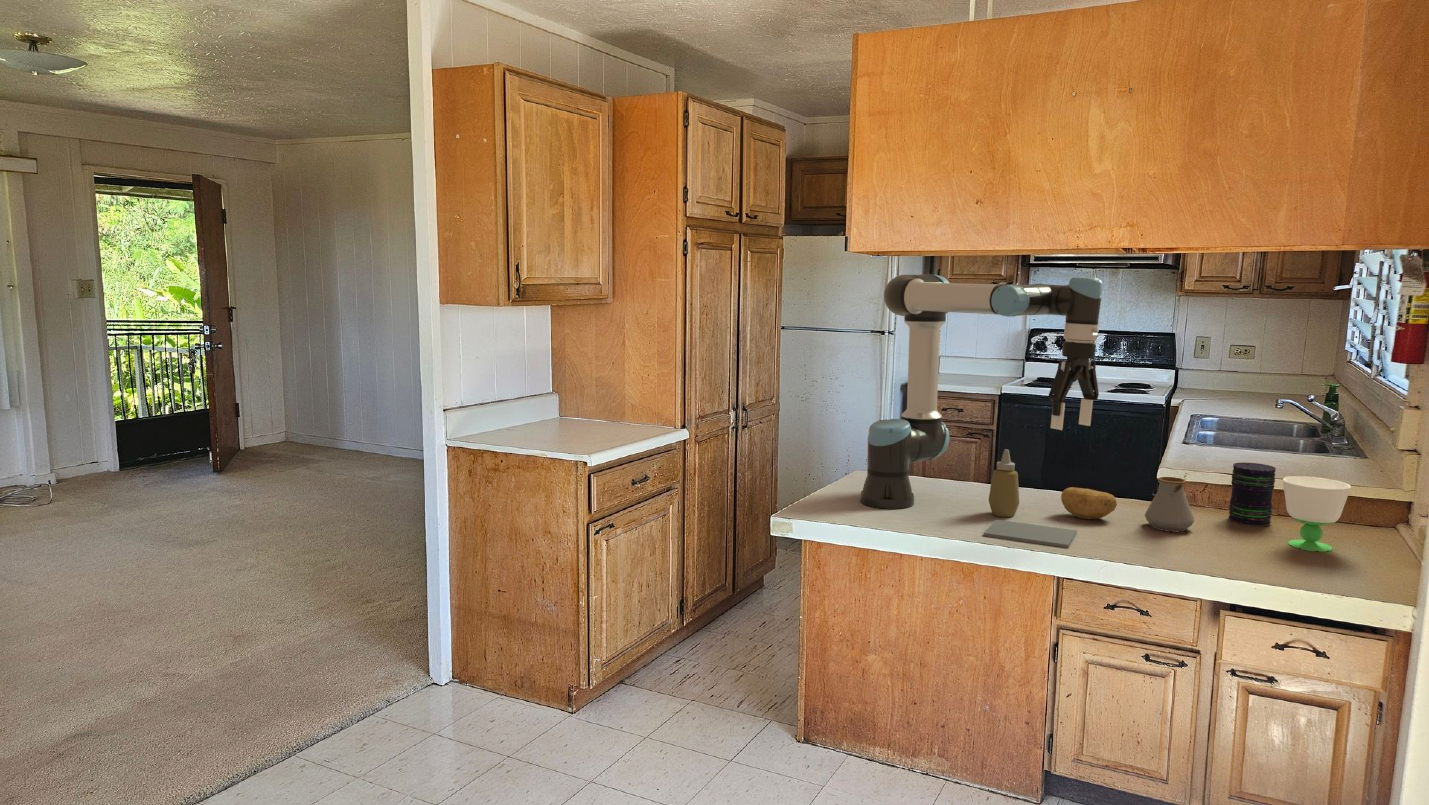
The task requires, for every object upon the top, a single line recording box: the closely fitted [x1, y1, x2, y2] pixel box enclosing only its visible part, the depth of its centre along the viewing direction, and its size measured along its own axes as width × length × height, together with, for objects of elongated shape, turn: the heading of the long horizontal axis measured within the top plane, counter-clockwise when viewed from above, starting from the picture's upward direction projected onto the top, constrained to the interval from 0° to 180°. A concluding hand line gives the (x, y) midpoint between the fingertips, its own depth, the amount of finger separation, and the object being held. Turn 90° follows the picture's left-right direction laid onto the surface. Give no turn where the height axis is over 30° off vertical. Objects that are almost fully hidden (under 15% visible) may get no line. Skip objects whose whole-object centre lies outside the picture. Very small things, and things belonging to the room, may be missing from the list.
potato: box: [1060, 486, 1118, 520], centre depth 240 cm, size 10×14×8 cm
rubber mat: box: [983, 519, 1078, 549], centre depth 225 cm, size 20×14×1 cm
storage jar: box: [1228, 462, 1277, 527], centre depth 237 cm, size 10×10×15 cm
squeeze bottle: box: [988, 448, 1020, 518], centre depth 242 cm, size 8×8×18 cm
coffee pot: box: [1144, 476, 1195, 533], centre depth 226 cm, size 21×12×15 cm, turn 159°
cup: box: [1282, 475, 1352, 553], centre depth 215 cm, size 14×14×16 cm
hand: (1070, 427), depth 221 cm, fingers open, 13 cm apart
